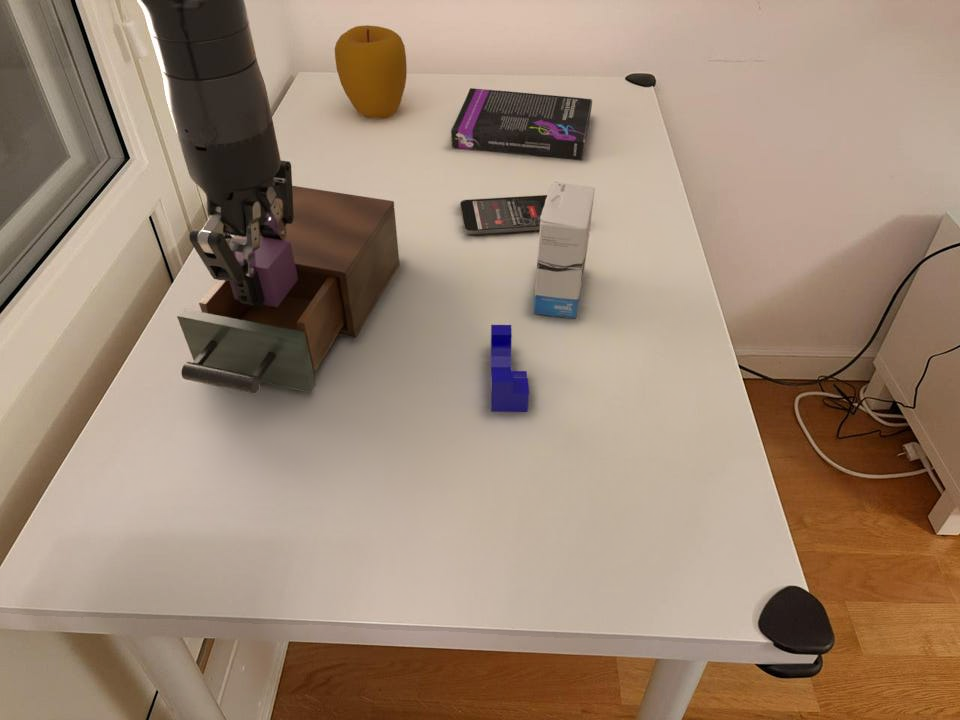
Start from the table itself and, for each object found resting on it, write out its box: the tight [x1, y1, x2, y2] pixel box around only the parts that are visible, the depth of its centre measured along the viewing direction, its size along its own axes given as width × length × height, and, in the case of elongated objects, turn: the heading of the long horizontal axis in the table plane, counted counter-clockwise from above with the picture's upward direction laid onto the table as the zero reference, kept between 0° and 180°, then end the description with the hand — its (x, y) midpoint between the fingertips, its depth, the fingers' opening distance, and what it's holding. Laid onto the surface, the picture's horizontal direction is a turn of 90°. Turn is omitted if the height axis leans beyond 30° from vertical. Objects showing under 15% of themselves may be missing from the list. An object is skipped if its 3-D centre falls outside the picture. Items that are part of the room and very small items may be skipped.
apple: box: [334, 25, 408, 119], centre depth 111 cm, size 11×11×13 cm
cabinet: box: [232, 185, 400, 339], centre depth 80 cm, size 14×14×9 cm
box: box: [450, 87, 593, 160], centre depth 109 cm, size 14×4×20 cm
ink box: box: [532, 181, 596, 319], centre depth 78 cm, size 8×5×12 cm, turn 168°
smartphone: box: [459, 194, 548, 236], centre depth 93 cm, size 7×1×15 cm
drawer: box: [176, 270, 346, 395], centre depth 71 cm, size 17×12×7 cm
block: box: [230, 236, 298, 307], centre depth 68 cm, size 4×4×4 cm
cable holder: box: [490, 324, 530, 413], centre depth 71 cm, size 8×4×4 cm, turn 0°
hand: (265, 286), depth 70 cm, fingers closed on block, 4 cm apart
